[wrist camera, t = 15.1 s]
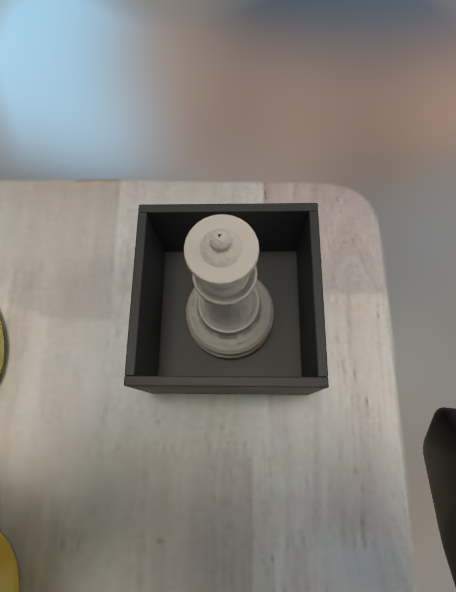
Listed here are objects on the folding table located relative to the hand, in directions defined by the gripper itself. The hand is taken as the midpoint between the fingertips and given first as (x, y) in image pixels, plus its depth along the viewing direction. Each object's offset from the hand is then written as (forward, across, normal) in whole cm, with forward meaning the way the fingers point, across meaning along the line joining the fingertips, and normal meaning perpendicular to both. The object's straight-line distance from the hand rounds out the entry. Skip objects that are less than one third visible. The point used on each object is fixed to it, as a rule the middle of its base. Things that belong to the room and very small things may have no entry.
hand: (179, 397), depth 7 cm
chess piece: (+13, 0, +6) cm, 14 cm away
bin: (+13, 0, +6) cm, 14 cm away
